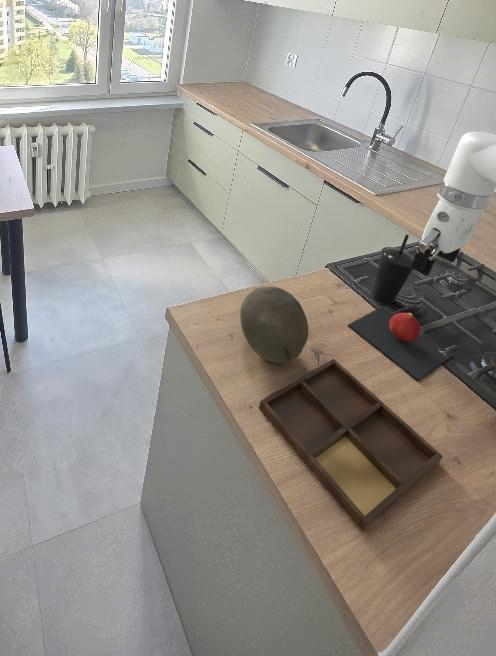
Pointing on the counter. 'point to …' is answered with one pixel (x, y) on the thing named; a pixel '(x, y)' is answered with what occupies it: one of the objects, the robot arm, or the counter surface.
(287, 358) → the grey-brown oval ball
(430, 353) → the mat
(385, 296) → the drinking cup
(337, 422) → the tray
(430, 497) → the counter surface
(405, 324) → the onion
